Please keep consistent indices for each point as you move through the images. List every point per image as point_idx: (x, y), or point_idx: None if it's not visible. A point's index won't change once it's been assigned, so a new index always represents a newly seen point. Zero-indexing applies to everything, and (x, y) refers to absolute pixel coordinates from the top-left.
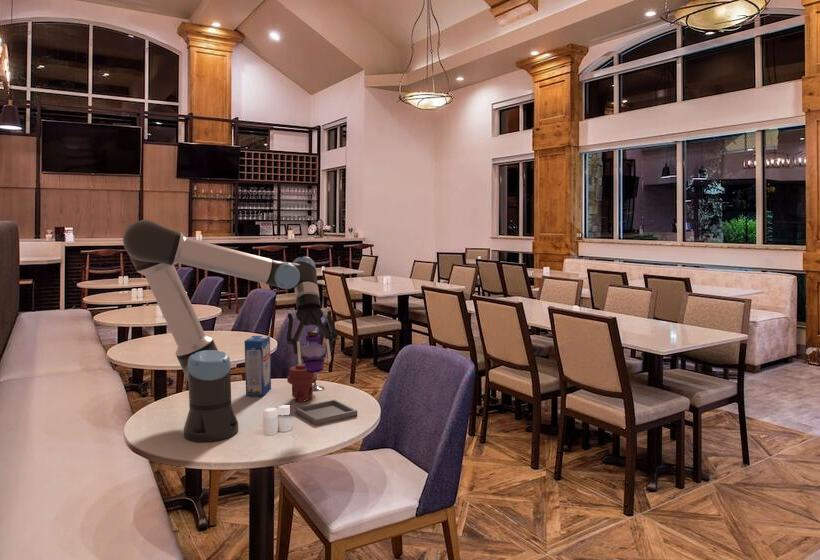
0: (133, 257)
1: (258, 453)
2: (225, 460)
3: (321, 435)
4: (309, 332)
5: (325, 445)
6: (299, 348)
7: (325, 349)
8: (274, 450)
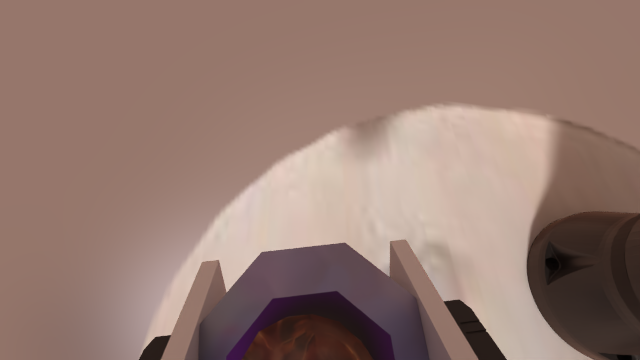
0: None
1: (434, 140)
2: (492, 115)
3: (303, 225)
4: (355, 341)
5: (295, 163)
6: (428, 302)
7: (217, 306)
8: (404, 150)
